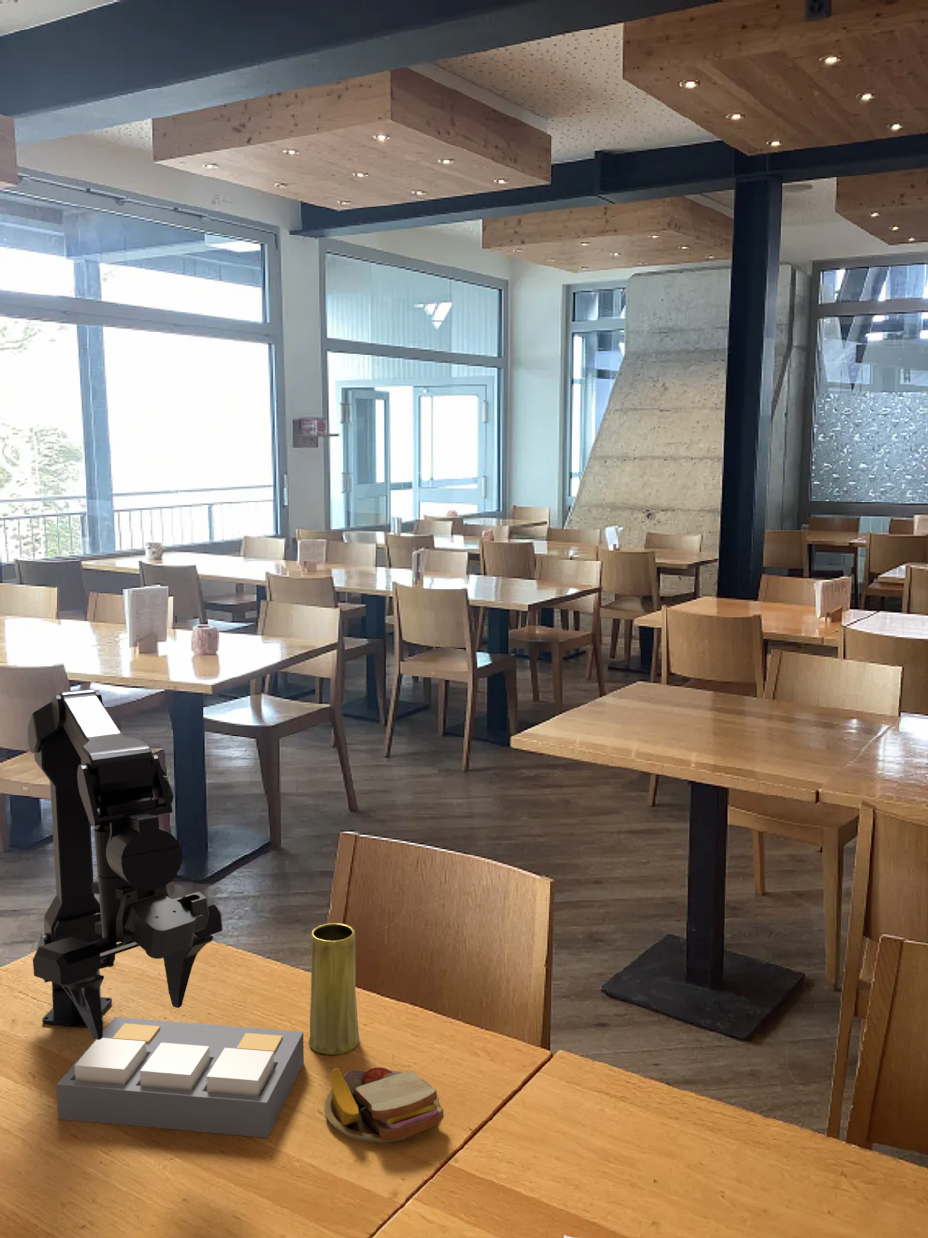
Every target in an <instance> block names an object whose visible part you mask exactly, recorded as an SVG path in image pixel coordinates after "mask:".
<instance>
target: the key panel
mask: <svg viewBox="0 0 928 1238" xmlns="http://www.w3.org/2000/svg"><path fill="white" fill-rule="evenodd" d="M103 1038H111V1039H123V1040H136V1041H146V1060H145V1061H144V1062H143V1064H142V1065H141V1066H140V1068H139V1069H138V1070H137V1072H136V1073H135V1074H134V1075H133V1077H132V1078H131V1079H130V1081H129V1082H128V1083H127V1085H123V1084H112V1083H100V1082H88V1081H77V1080H75V1064H76V1063H77V1062H78V1061H79V1060H80V1058H81V1057H82V1056H83V1055H84V1054H85V1053H86V1051H87V1050H88V1049H89V1048H90V1047H91V1046H92V1044H93V1043H94V1042H95V1041H96V1040H97V1039H95V1038H94V1041H93V1042H92V1043H90V1045H89V1047H87V1048H86V1050H85V1051H84V1052H83V1053H82V1054H81V1056H80V1057H79V1058H78V1059H77V1060H76V1061H75V1063H74V1064H73V1065H71V1067H70V1068H69V1069H68V1071H67V1072H65V1074H64V1075H63V1076H62V1077H61V1079H60V1080H58V1082H57V1083H56V1085H55V1086H56V1103H57V1104H56V1105H57V1119H58V1120H68V1121H78V1122H89V1123H101V1124H109V1125H110V1124H113V1125H121V1126H131V1127H132V1126H133V1127H134V1126H135V1127H145V1128H154V1129H155V1128H156V1129H166V1130H167V1129H168V1130H178V1131H187V1132H188V1131H190V1132H200V1133H211V1134H213V1133H214V1134H221V1135H234V1136H244V1137H255V1138H266V1139H267V1138H268V1137H269V1136H270V1134H271V1131H272V1129H273V1127H274V1125H275V1124H276V1121H277V1119H278V1118H279V1115H280V1113H281V1112H282V1109H283V1107H284V1106H285V1105H284V1104H285V1103H286V1100H287V1099H288V1097H289V1094H290V1092H291V1090H292V1089H293V1087H294V1084H295V1082H296V1081H297V1078H298V1076H299V1074H300V1072H301V1069H302V1068H303V1066H304V1063H305V1062H304V1061H305V1059H304V1057H305V1053H304V1050H305V1049H304V1031H300V1030H299V1031H296V1030H286V1029H273V1028H272V1029H271V1028H261V1027H248V1026H233V1025H222V1024H221V1025H219V1024H207V1023H193V1022H185V1021H171V1020H157V1019H143V1018H133V1017H132V1018H131V1017H117V1016H114V1018H113V1019H111V1021H110V1022H109V1023H108V1024H107V1026H106V1027H105V1028H103ZM160 1043H173V1044H185V1045H198V1046H209V1055H210V1065H209V1066H208V1068H207V1069H206V1071H205V1072H204V1074H203V1076H202V1077H201V1079H200V1080H199V1082H198V1083H197V1085H196V1087H195V1088H194V1090H182V1089H170V1088H158V1087H147V1086H141V1082H140V1070H141V1069H142V1068H143V1066H144V1065H145V1064H146V1062H147V1061H148V1060H149V1058H150V1057H151V1056H152V1054H153V1053H154V1052H155V1050H156V1049H157V1047H158V1046H159V1045H160ZM224 1048H235V1049H248V1050H260V1051H273V1052H274V1072H273V1074H272V1075H271V1077H270V1079H269V1081H268V1083H267V1085H266V1087H265V1089H264V1091H263V1092H262V1094H261V1096H252V1095H240V1094H228V1093H217V1092H207V1075H208V1073H209V1072H210V1070H211V1069H212V1067H213V1066H214V1064H215V1062H216V1061H217V1059H218V1058H219V1056H220V1055H221V1053H222V1051H223V1050H224Z"/></svg>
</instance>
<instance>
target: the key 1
mask: <svg viewBox="0 0 928 1238" xmlns="http://www.w3.org/2000/svg"><path fill="white" fill-rule="evenodd" d="M94 1041H95V1040H94ZM94 1041H93V1042H94ZM93 1042H92V1043H93ZM92 1043H91V1044H92ZM88 1048H89V1047H88ZM88 1048H87V1049H88ZM87 1049H86V1050H87ZM86 1050H85V1051H86ZM81 1056H82V1055H81ZM81 1056H80V1057H81ZM80 1057H79V1058H80ZM145 1060H146V1041H136V1040H123V1039H111V1038H102V1039H100V1040H96V1041H95V1042H94V1043H93V1044H92V1046H91V1047H90V1048H89V1049H88V1050H87V1051H86V1053H85V1054H84V1055H83V1056H82V1057H81V1058H80V1060H79V1061H78V1062H77V1063H76V1062H75V1063H76V1064H75V1063H74V1064H75V1080H77V1081H88V1082H100V1083H112V1084H123V1085H127V1083H128V1082H129V1081H130V1079H131V1078H132V1077H133V1075H134V1074H135V1073H136V1072H137V1070H138V1069H139V1068H140V1066H141V1065H142V1064H143V1062H144V1061H145Z"/></svg>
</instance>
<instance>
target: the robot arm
mask: <svg viewBox="0 0 928 1238" xmlns="http://www.w3.org/2000/svg"><path fill="white" fill-rule="evenodd" d="M27 740H28V748H29V750H30V753H31V754H34V760H35V761H34V762H35V763H36V765H38V767H39V768H40V770H41V771H42V772H43V773H44V774H43V775H45V776H46V778H47V779H48V780H49V785H50V786H49V787H50V803H51V804H50V805H51V819H52V820H51V822H52V823H51V824H52V825H51V826H52V839H53V841H52V842H53V855H54V877H55V891H56V893H55V897H54V899H53V900H52V901H51V903H50V905H49V907H48V909H47V910H46V911H45V914H44V916H43V923H44V925H43V930H44V932H43V934H40V936H39V940H38V944H37V947H36V950H35V951H36V952H35V954H34V956H33V958H32V967H33V976H34V977H36V978H39V979H42V980H43V981H44V983H49V982H51V990H52V991H51V997H52V1008H50V1010H49V1011H48V1012H47V1013H46V1014H45V1015H44V1016H43V1017H42V1018H41V1022H42V1024H49V1025H60V1026H73V1027H74V1026H76V1027H87V1028H88V1030H89V1032H90V1034H91V1036H92V1037H93V1038H94V1040H95V1039H97V1040H100V1039H102V1038H103V1030H104V1022H103V1013H104V1012H105V1011H106V1010H107V1009H108V1007H109V1006H110V1005H111V1004H112V1003H113V998H112V997H105V996H104V997H103V996H102V994H101V993H102V992H101V985H102V983H103V981H104V980H105V975H102V974H101V972H100V971H101V969H105V968H112V967H114V966H115V964H114V963H115V961H116V955H117V954H120V953H123V952H125V951H129V950H132V949H135V948H138V947H140V948H141V949H142V950H144V951H145V954H146V955H147V956H148V957H150V958H151V959H156V960H160V959H163V964H164V970H165V975H166V977H165V978H166V983H167V989H168V994H169V999H170V1001H171V1005H172V1007H174V1008H177V1009H179V1008H181V1007H182V1006H183V1002H184V998H185V995H186V992H187V987H188V984H189V980H190V975H191V972H192V969H193V966H194V962H195V960H196V958H197V955H198V954H199V953H200V951H201V950H202V949H203V948H204V947H205V946H206V945H207V944H209V943H212V942H213V940H214V936H213V935H214V934H217V933H220V932H223V929H224V925H223V923H224V922H223V913H222V912H221V910H220V909H219V907H218V906H217V905H216V904H215V903H210V902H208V901H207V898H208V897H206V896H205V895H204V894H202V892H201V891H196V892H194V893H193V892H192V893H189V894H186V895H184V896H183V897H181V896H180V897H176V898H170V896H169V893H168V890H167V889H168V888H167V885H168V884H170V883H171V882H172V881H173V880H174V879H175V878H176V877H177V875H178V873H179V871H180V869H181V866H182V863H183V851H182V850H183V849H182V848H181V846H180V843H179V841H178V840H177V838H176V837H175V836H174V835H173V834H171V832H168V830H165V829H163V828H161V827H160V819H159V816H162V815H168V814H172V813H173V806H172V804H173V802H174V792H173V790H172V787H171V785H170V781H169V779H168V776H167V774H166V770H165V767H164V765H163V764H162V763H161V762H160V759H159V756H158V755H157V754H156V753H155V754H154V753H153V751H152V749H151V748H150V746H148V745H147V744H146V743H145V742H144V741H143V740H141V739H139V738H136V737H130V736H126V735H124V734H122V732H121V730H120V728H119V727H118V726H117V724H116V723H115V721H114V719H113V718H112V717H111V716H110V714H109V712H108V710H107V709H106V707H105V704H104V703H103V697H102V694H101V691H100V690H99V689H98V690H95V689H93V688H88V689H87V688H86V689H77V690H67V691H66V690H65V691H60V692H59V693H58V694H54V695H53V696H52V699H51V701H50V702H48V703H47V704H45V705H43V706H42V707H40V708H39V709H37V710H36V711H34V712H33V713H32V714H31V715H30V719H29V723H28V726H27ZM154 796H155V798H154ZM98 809H99V810H98ZM92 826H93V827H94V828H93V833H94V834H93V835H94V844H95V845H94V846H95V856H96V857H95V859H96V872H97V873H96V875H97V881H95V882H94V868H93V867H94V866H93V861H94V860H93V842H92V828H91V827H92ZM95 894H96V895H98V897H99V900H98V899H97V898H96V896H95Z"/></svg>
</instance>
